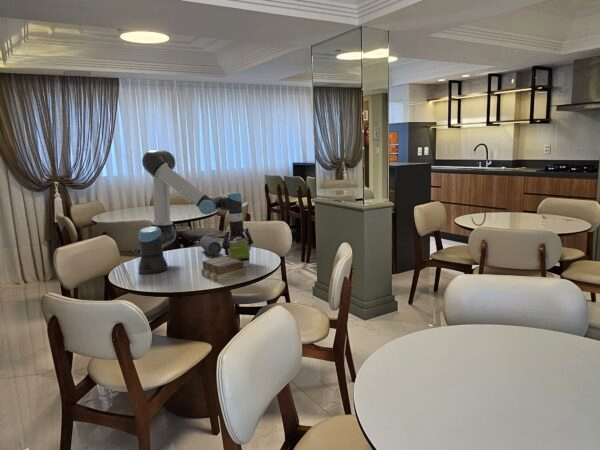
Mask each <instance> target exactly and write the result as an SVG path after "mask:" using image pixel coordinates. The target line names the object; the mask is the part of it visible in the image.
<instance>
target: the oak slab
mask: <svg viewBox="0 0 600 450" xmlns="http://www.w3.org/2000/svg"><path fill="white" fill-rule="evenodd" d="M201 275H202V276H204V277H206V278H208V279H211V280H213V281H216V282H218V283H222V282H225V281H229V280H233V279H237V278H241V277H244V276H246V268H244V269H242V270H238V271H233V272H229V273H225V274H221V275H218V274H216V273H213V272H211V271H208V270H206V269H204V268H203V267H202V268H201Z"/></svg>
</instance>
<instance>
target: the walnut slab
mask: <svg viewBox="0 0 600 450" xmlns="http://www.w3.org/2000/svg"><path fill="white" fill-rule="evenodd" d="M202 268H204V269H206V270H208V271H211V272H213V273H216V274H218V275H221V274H225V273H229V272H233V271H238V270H242V269H245V267H244V266H243V261H240V260H237V259H234V258H231V257H228V256H226V255H225V256H220V257H214V258H210V259H206V260H203V261H202Z"/></svg>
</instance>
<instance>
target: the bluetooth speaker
mask: <svg viewBox="0 0 600 450" xmlns="http://www.w3.org/2000/svg"><path fill="white" fill-rule="evenodd" d="M199 245H200V247H201V248H202V249H203V251H204V252H206V253H207V254H208V255H209V256H217V255H219V254H220V253H221V251H222V248H221V247H222V244H221V243H220V242H219V241H218V240H216V239H215V238H213V237H211V236H208V235H204V236H202V237H201V238H200V240H199Z"/></svg>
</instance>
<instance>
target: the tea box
mask: <svg viewBox="0 0 600 450" xmlns="http://www.w3.org/2000/svg"><path fill="white" fill-rule="evenodd" d="M229 238H230V237H229ZM229 238H228V240H229ZM247 240H248V239H247ZM247 240H246V239H245V238H241V237H237V238H234V239H233V241H229V244H230V247H229V249H230V257H231V258H234V259H237V260H240V261H243V266H244V268H249V267H250V266H251V262H250V261H251V260H250V257H249V245H248V241H247ZM227 242H228V241H227Z"/></svg>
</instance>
